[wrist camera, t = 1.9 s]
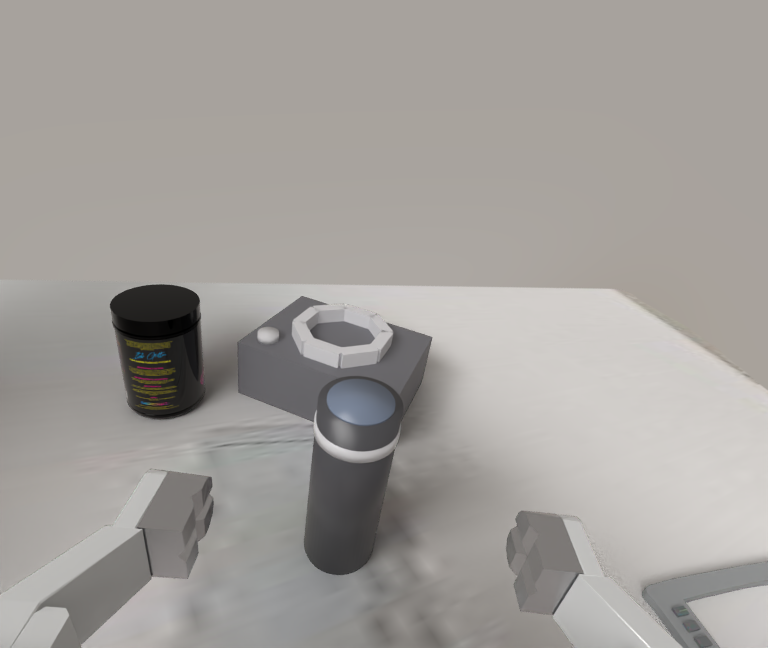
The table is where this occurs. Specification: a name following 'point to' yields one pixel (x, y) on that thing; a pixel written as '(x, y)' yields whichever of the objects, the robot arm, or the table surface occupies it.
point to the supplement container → (160, 349)
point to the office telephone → (676, 592)
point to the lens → (350, 470)
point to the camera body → (327, 355)
